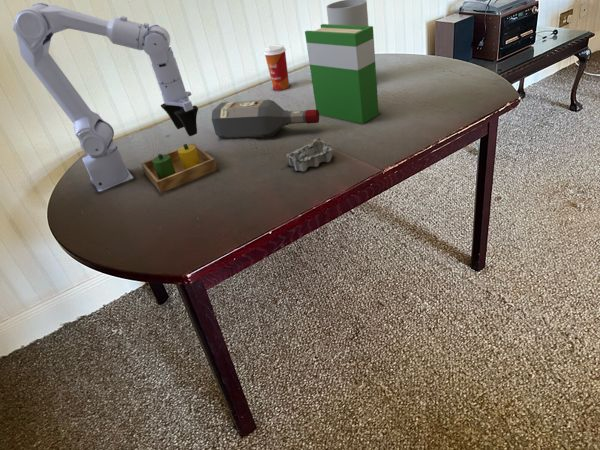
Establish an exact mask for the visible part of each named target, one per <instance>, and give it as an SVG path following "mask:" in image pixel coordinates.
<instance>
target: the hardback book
mask: <svg viewBox="0 0 600 450" xmlns="http://www.w3.org/2000/svg"><path fill="white" fill-rule="evenodd" d="M374 35H375V34H374V26H373V25H368V26H355V25H332V24H328V23H322V24H320V28H317V29H316V30H305V31H304V36H305V41H306V43H305V44H306V50H307V56H308V57H307V58H308V65H309V70H310V71H309V72H310V78H311V85H312V90H313V97H314V103H315V104H314V105H315V110H317V109H318V111H319V116H324V117H329V118H333V119H338V120H342V121H347V122H353V123H357V124H360V125H361V124H362V125H364V124H365V123H367V122H368V121H370V120H372V119H373V118H375V117H377V116H378V115H379V114H380V110H379V96H378V81H377V65H376V52H375V36H374Z"/></svg>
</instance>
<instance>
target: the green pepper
mask: <svg viewBox="0 0 600 450" xmlns="http://www.w3.org/2000/svg"><path fill="white" fill-rule="evenodd" d="M152 159H153V160H152V162H153V165H154V167H155V170H156V173H157V175H158V178H159V180H161V179H163V178H166V177H168V176H171V175H173V174H176V172H175V169H174V166H173V163H172V160H171V157H170V156H169V155H164V154H162V153H158V154H157V156H155V157H154V158H152Z"/></svg>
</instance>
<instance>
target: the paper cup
mask: <svg viewBox="0 0 600 450" xmlns="http://www.w3.org/2000/svg"><path fill="white" fill-rule="evenodd" d="M286 51H287V49H286V48H285V46H284V45H283V44H274V45H270V46H267V47H265V48H264V52H263V55H264V57H265V59H266V65H267V68H268V72H269V76H270V80H271V83H272V87H273V90H274V91H277V92H278V91H284V90H287V89H289V88H290V80H289V72H288V71H289V70H288V63H287V56H286Z"/></svg>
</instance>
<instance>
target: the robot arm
mask: <svg viewBox="0 0 600 450" xmlns="http://www.w3.org/2000/svg"><path fill="white" fill-rule="evenodd" d="M12 30H13V32H14V33H15V34H16V39H17V42H18V49H19V53H20V56H21V58H22V59H23V61H24V62H25V63H26V64H27V66H28V67H29V68H30V69H31V71H32V72H33V74H34V75H35V77H36V78H38V80H39V81H40V83H41V84H42V85H43V86H44V88H45V89H46V90H47V92H48V93H49V95H51V97H52V98H53V99H54V101H55V102H56V103H57V105H58V106H59V107H60V108H61V110H62V111H63V112H64V114H65V115H66V116H67V118H68V119H69V120H70V122H71V123H72V124H73V130H74V134H75V136H76V137H77V139H78V140H79V144H80V148H81V150H82V151H83V152H84V153H85V154H87V155H86V156H84V157H82V158H81V160H82V163H83V165H84V166H85V168H86V170H87V173H88V175H89V177H90V178H89V180H90V182H91V184H92V185H94V187H95V188H96V190H97V192H102V191H104V190H108V189H110V188H113V187H115V186H118V185H120V184H122V183H125V182H128V181H130V180H133V179H134V176H133V174H131V172H130V171H129V170H128V168H127V166H126V164H125V161H124V159H123V157H122V154H121V153H120V150H119V147H118V145H117V142H115V141H114V139H113V138H114V136H115V131H114V128H113V126H112V125H111V124H110V123H109V122H107V121H106V120H104V119H103V118H102V117H101V116H100V114H99V113H97V112H95V111H92V110H91V108H90V107H89V106H88V104H87V102H86V101H85V100H84V99H83V98H82V96H81V94H80V93H79V92H78V90H76V88H75V87H74V85H73V84H72V82H71V81H70V80H69V79H68V77H67V76H66V74H65V73H64V72H63V70H62V69H61V68H60V66H59V65H58V63H57V61H55V60H54V58H53V57H52V55H51V54H50V53H49V51H50V47H51V41H52V37H53V36H54V35H55V34H57V33H61V32H63V31H65V30H74V31H79V32H84V33H88V34H94V35H97V36H98V35H99V36H102V37H103V36H104V37H106V38H107V39H108V40H109V41H110V42H111V44H113V45H116V46H120V47H124V48H129V49H132V50H133V49H134V50H137V51H144V52H145V53H146V55H148V57H149V59H150V62H151V67H152V70H153V72H154V74H155V78H156V81H157V84H158V86H159V90H160V93H161V94H160V95H161V98H162V99H163V103H162V104H160V107H161V108H162V109H163V110H164V112H165V113H166V114H167V115H168V117H169V118H170V120H171V122H172V123H173V125H174V127H175V128H176V129H177V130H181V129H183V128H184V130H185V132H186V134H187V135H188V137H194V136H195V135H197V134H198V125H197V118H198V117H197V115H198V111H199V107H198V106H197V105H193V103H192V101H191V100H190V97H191V96H192V92H191V91H186V87H185V84H184V82H183V79H182V75H181V72H180V69H179V66H178V62H177V60H176V59H177V58H176V57H175V55H174V51H173V49H172V47H171V46H170V45H171V36H170V33H169V32H168V30H167V29H166V28H164V27H162V26H160V25H158V24H153V25H150V23H148V22H144V23H143V24H142V23H139V22H136V21H132V20H128V17H127V16H124V15H121V16H120V17H116V16H115V17H114V18H112V19H110V20H106V19H102V18H99V17H96V16H93V15H89V14H87V13H82V12H80V11H76V10H72V9H71V8H67V7H64V6H59V5H55V4H47V3H44V2H36V3H34V4H32V5H31V6H30V7H28V8H24V9H21V10H20V11H18V12H17V13H16V15H15V18H14V22H13V26H12Z"/></svg>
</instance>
